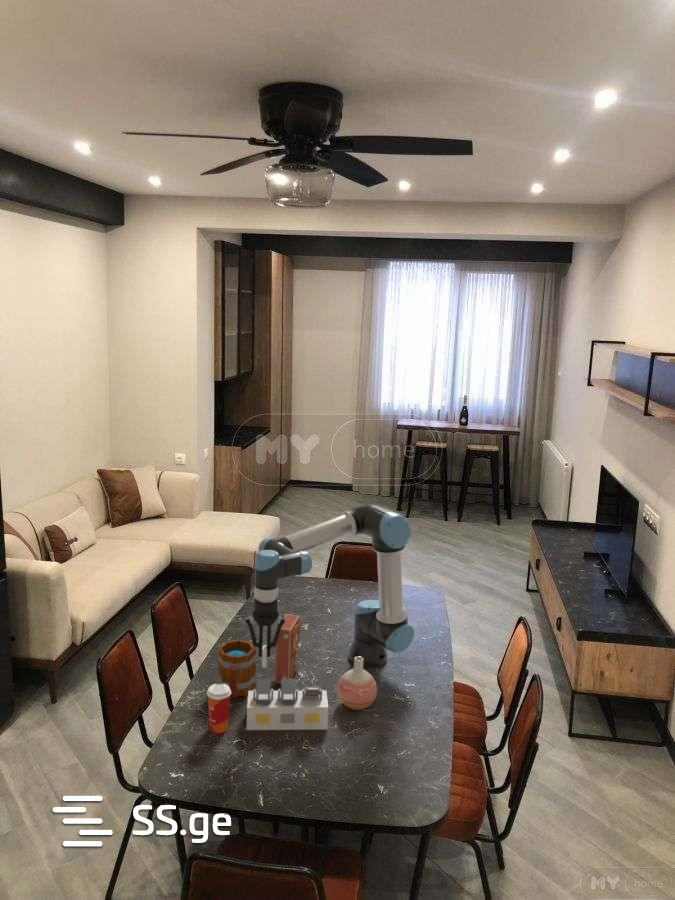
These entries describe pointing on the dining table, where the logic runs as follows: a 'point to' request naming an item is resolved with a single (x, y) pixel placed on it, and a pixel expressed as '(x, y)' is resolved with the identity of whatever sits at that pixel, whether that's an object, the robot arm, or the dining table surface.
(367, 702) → the vase
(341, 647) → the dining table surface
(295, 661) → the control panel
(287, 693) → the rocker
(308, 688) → the rocker
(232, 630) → the dining table surface
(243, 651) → the mug
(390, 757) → the dining table surface
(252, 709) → the console
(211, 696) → the paper cup
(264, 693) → the rocker
